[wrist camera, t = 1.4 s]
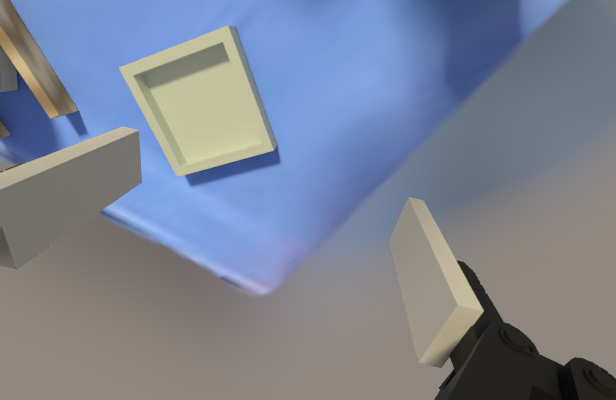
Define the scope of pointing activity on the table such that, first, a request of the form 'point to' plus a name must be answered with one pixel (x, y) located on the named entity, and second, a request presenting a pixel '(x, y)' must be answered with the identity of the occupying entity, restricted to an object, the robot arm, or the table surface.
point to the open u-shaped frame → (31, 65)
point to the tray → (202, 102)
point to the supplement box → (7, 73)
